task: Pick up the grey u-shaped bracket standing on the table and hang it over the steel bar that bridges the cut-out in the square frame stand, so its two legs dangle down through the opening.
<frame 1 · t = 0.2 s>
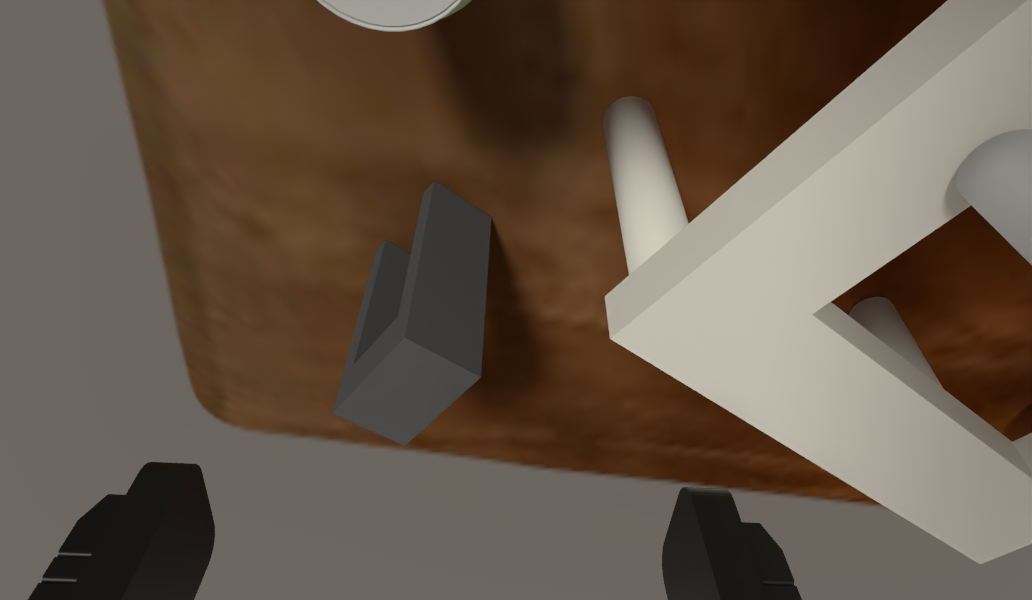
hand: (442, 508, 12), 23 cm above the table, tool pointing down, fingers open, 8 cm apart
grey u-shaped bracket: (432, 234, 36), on the table
square frame stand: (925, 97, 31), on the table
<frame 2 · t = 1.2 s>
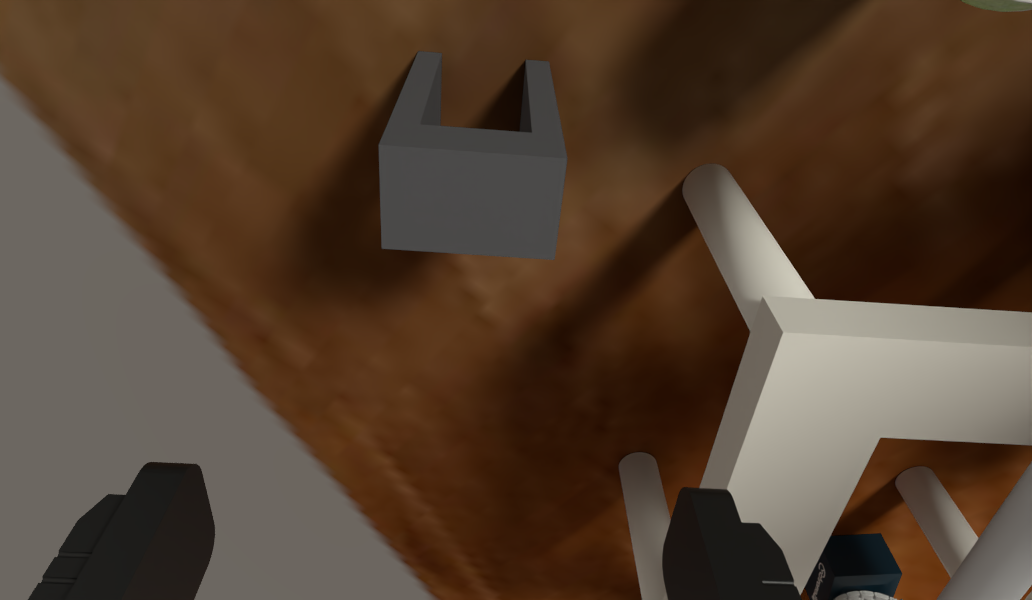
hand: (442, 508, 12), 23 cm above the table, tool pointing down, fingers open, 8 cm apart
watch: (838, 558, 49), on the table
grey u-shaped bracket: (481, 96, 31), on the table
square frame stand: (826, 354, 39), on the table
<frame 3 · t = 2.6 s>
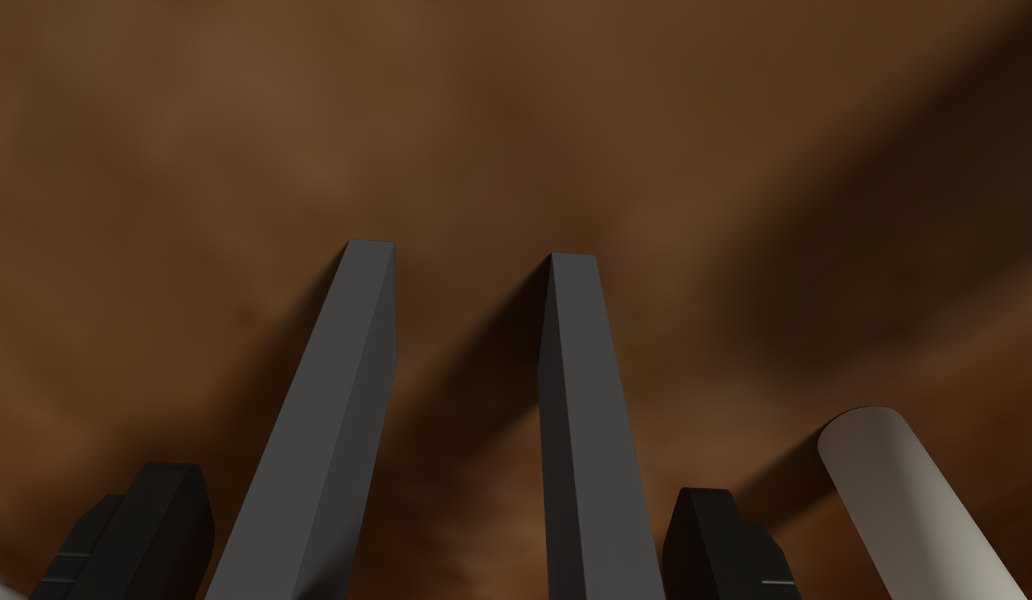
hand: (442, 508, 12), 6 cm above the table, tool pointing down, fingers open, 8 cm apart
grey u-shaped bracket: (470, 310, 17), on the table
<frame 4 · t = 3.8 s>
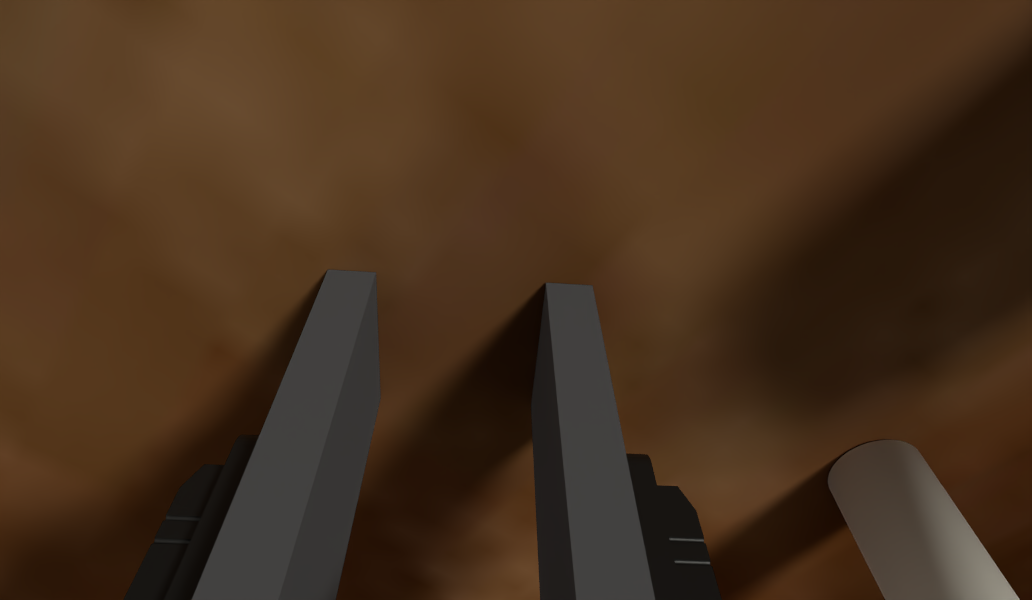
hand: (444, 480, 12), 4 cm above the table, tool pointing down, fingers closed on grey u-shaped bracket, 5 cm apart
grey u-shaped bracket: (458, 343, 16), on the table, touching gripper
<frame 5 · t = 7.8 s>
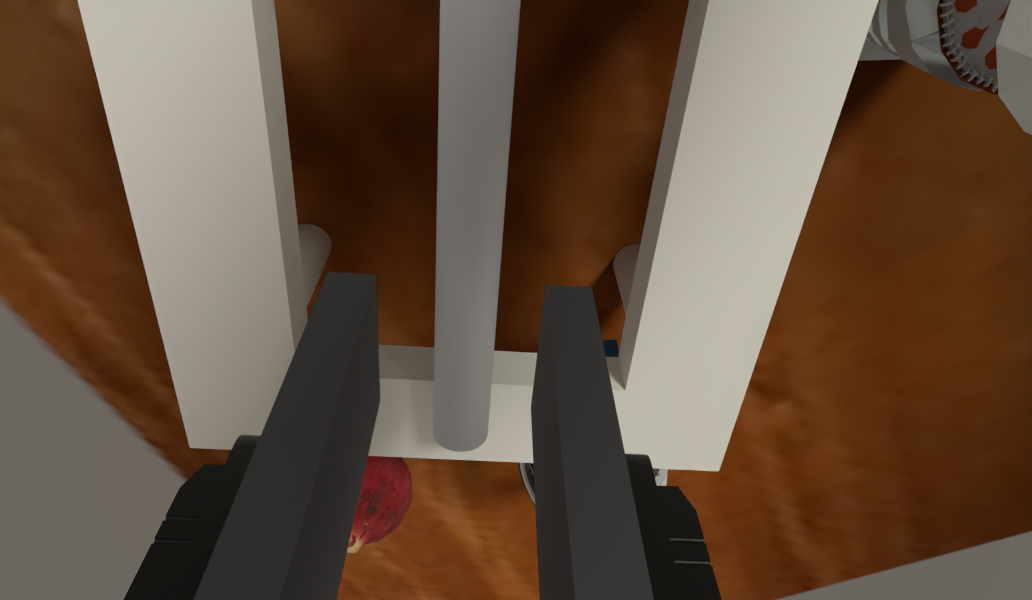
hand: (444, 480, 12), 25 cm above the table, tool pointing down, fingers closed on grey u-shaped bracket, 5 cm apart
watch: (579, 375, 44), on the table
onion: (375, 446, 47), on the table
grey u-shaped bracket: (458, 345, 16), point 21 cm above the table, touching gripper
square frame stand: (482, 80, 33), on the table
when the fingers open (12 cm above the table, at t = 10.6 s): grey u-shaped bracket stays where it is, resting on square frame stand.
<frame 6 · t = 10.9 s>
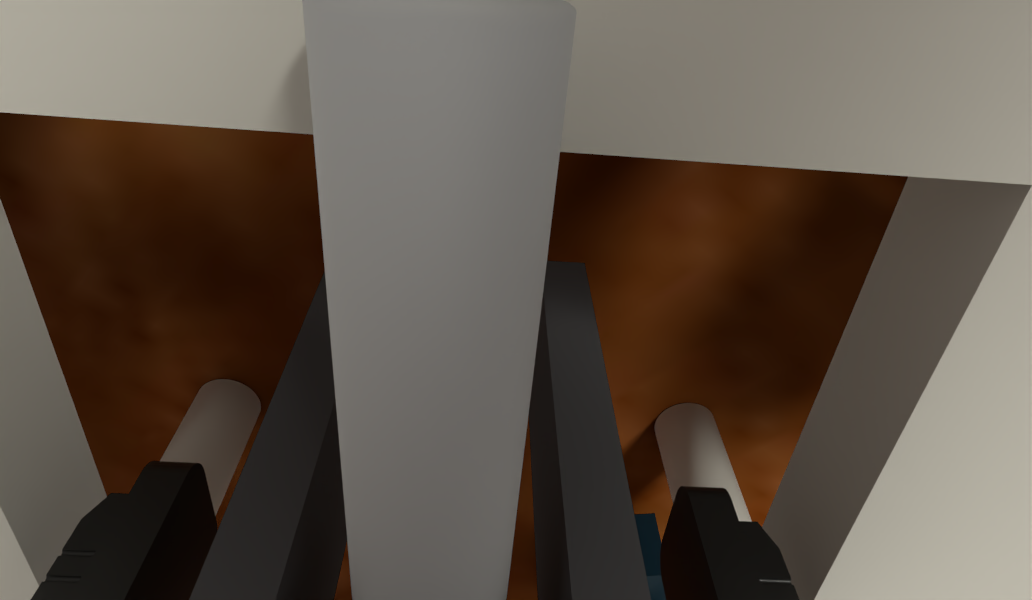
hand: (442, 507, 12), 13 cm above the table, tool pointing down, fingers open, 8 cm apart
watch: (603, 552, 33), on the table
grey u-shaped bracket: (458, 319, 16), point 7 cm above the table, touching square frame stand
square frame stand: (471, 194, 22), on the table
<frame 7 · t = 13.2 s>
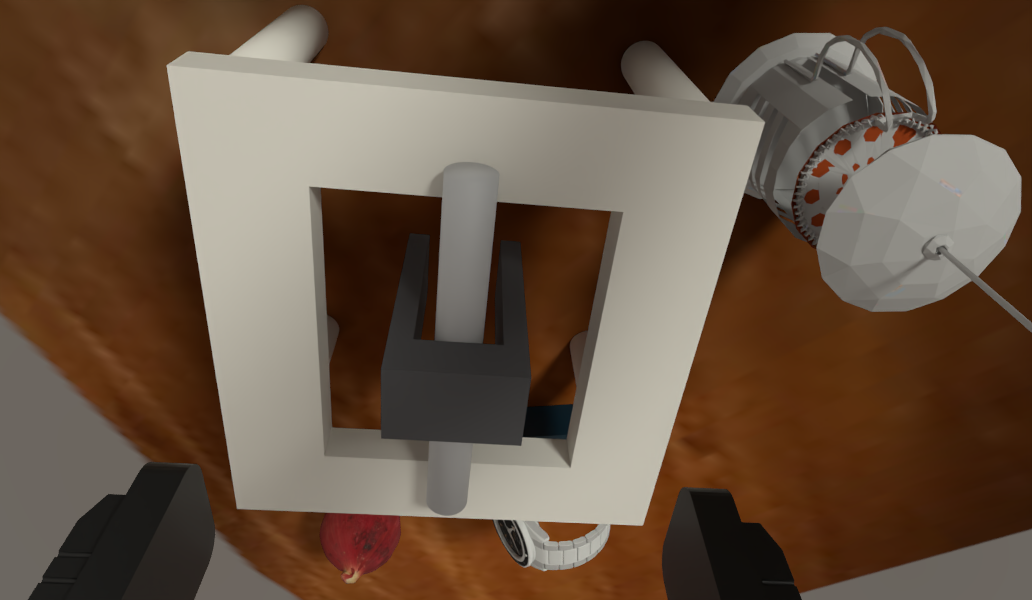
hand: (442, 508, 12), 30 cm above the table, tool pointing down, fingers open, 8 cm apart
watch: (542, 432, 52), on the table
onion: (368, 489, 55), on the table
grey u-shaped bracket: (463, 267, 36), point 7 cm above the table, touching square frame stand
square frame stand: (465, 209, 42), on the table
french press: (791, 105, 40), on the table
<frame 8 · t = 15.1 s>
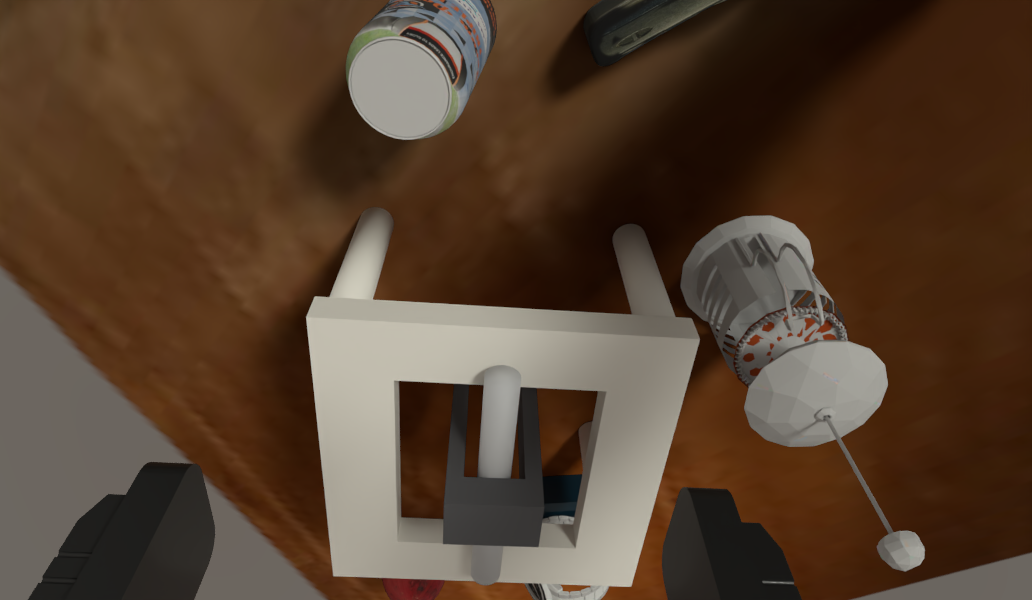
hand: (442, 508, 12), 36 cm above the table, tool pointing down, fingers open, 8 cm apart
beverage can: (437, 25, 42), on the table
watch: (558, 494, 65), on the table
onion: (418, 537, 68), on the table
grey u-shaped bracket: (493, 397, 49), point 7 cm above the table, touching square frame stand
square frame stand: (495, 337, 55), on the table
french press: (745, 262, 51), on the table
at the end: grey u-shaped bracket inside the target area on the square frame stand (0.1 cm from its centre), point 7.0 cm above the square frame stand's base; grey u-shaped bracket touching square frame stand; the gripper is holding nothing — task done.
